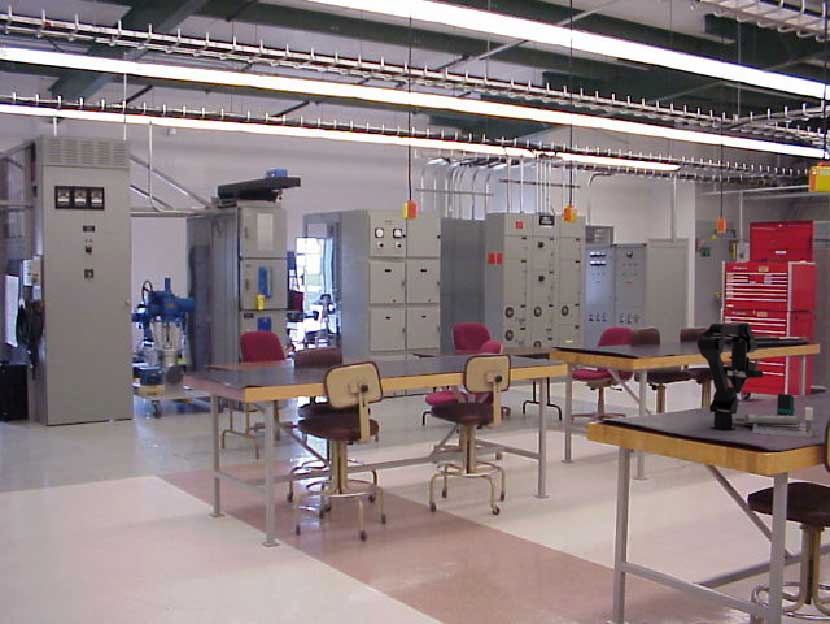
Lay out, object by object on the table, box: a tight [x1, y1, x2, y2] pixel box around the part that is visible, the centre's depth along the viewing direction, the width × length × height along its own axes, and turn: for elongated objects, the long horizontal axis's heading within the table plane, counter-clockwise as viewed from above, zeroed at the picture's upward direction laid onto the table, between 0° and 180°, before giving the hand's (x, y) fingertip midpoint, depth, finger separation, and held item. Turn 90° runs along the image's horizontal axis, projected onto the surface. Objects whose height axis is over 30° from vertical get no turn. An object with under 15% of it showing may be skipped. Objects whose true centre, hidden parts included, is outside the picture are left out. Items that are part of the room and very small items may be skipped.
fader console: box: [752, 423, 813, 439], centre depth 319 cm, size 20×11×2 cm, turn 66°
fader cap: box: [804, 406, 814, 430], centre depth 316 cm, size 2×4×8 cm, turn 156°
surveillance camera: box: [776, 393, 795, 416], centre depth 345 cm, size 6×12×10 cm
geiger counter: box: [732, 412, 802, 428], centre depth 331 cm, size 14×6×25 cm
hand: (737, 393), depth 336 cm, fingers closed
